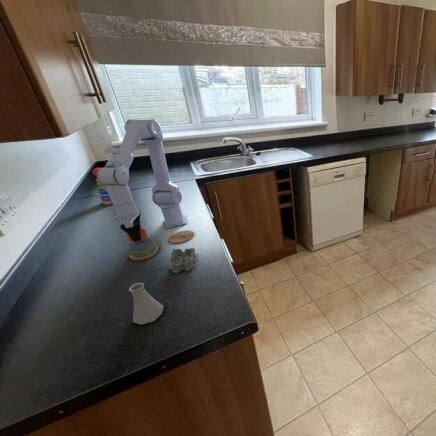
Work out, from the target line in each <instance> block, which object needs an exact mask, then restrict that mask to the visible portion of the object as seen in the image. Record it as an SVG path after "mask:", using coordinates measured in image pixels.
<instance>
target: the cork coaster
mask: <svg viewBox="0 0 436 436" xmlns="http://www.w3.org/2000/svg"><path fill="white" fill-rule="evenodd" d="M194 235H195V234H194V232H193V231H192V230H182V231H178V232H176V233H173V234H171V235H170V237H169V238H168V241H169V242H170V243H171V244H181V243H185V242H187V241H189V240H191V239H192V238H193V237H194Z"/></svg>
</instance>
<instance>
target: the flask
mask: <svg viewBox="0 0 436 436" xmlns="http://www.w3.org/2000/svg"><path fill="white" fill-rule="evenodd" d="M144 286H145V283H143V282H137V283H133V284H132V285H130V286H129V289H128V292H129V293H131V295H132V299H133V313H132V323H134V324H137V325H140V326H142V325H144V324H149V323H152V322H155V321H156V320H157V319H158V318H159V317H160V316H161V315H162V314H163V311H164V307H165V306H164V304H162V303H160V302H159V301H158V300H157V299H155V298H154V297H152V296H151V295H150V294H149V292H148V291H147V290H146V289H145V287H144Z"/></svg>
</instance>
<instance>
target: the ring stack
mask: <svg viewBox="0 0 436 436" xmlns="http://www.w3.org/2000/svg"><path fill="white" fill-rule="evenodd" d="M128 246H129V248H128V252H129V254H128V255H129V259H130V260H131V261H134V262H138V261H144V260H147V259H150V258H153V257H154V256H155V255H156V254H158V253H159V250H160V248H159V246H158V245H157V244H156V243H155V241H152V240H151V237H149V236H147V237H146V238H144V239H143V240H140V241H137V242H130V241H129V243H128Z"/></svg>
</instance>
